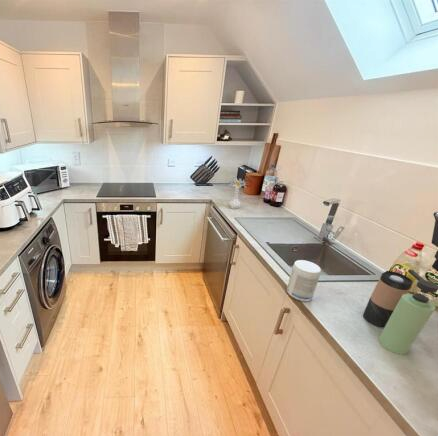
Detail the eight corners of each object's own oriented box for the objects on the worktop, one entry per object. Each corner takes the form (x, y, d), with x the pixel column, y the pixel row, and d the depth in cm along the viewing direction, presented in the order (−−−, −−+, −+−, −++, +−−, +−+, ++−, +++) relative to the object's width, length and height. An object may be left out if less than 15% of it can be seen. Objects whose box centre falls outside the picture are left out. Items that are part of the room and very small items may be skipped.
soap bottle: (402, 341, 80) (432, 293, 72) (410, 358, 75) (443, 308, 66) (375, 333, 84) (401, 286, 75) (381, 348, 78) (409, 299, 70)
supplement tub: (317, 300, 99) (328, 271, 93) (298, 304, 96) (308, 275, 90) (298, 285, 107) (307, 258, 101) (280, 289, 105) (288, 261, 99)
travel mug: (393, 331, 84) (419, 286, 76) (367, 325, 87) (389, 281, 79) (382, 315, 91) (405, 273, 83) (358, 310, 93) (378, 268, 85)
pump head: (437, 298, 68) (442, 290, 67) (419, 295, 69) (424, 286, 68) (414, 277, 76) (419, 270, 75) (399, 275, 78) (403, 267, 76)
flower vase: (236, 203, 207) (241, 175, 197) (245, 211, 190) (251, 181, 181) (222, 203, 207) (226, 175, 197) (229, 211, 190) (234, 181, 180)
